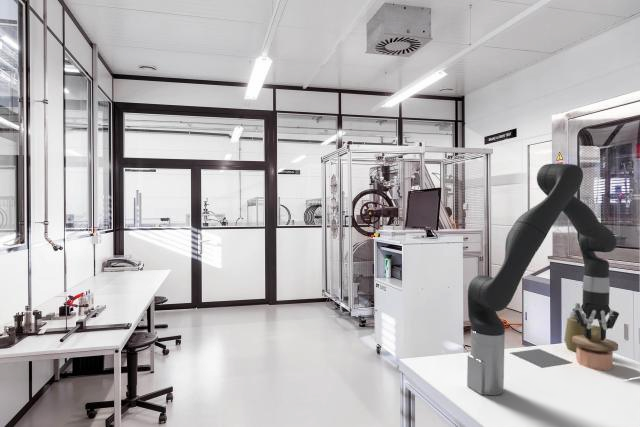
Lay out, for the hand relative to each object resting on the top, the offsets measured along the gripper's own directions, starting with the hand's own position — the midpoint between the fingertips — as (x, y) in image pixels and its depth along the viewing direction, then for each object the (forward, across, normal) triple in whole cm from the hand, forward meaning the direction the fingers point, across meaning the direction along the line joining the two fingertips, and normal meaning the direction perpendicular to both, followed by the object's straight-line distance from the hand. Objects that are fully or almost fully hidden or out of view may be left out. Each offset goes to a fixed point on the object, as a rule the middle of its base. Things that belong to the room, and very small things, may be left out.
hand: (594, 339), depth 137 cm
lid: (+2, 0, 0) cm, 2 cm away
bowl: (+9, 0, 0) cm, 9 cm away
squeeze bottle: (+9, 0, +14) cm, 17 cm away
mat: (+9, -16, +2) cm, 19 cm away
